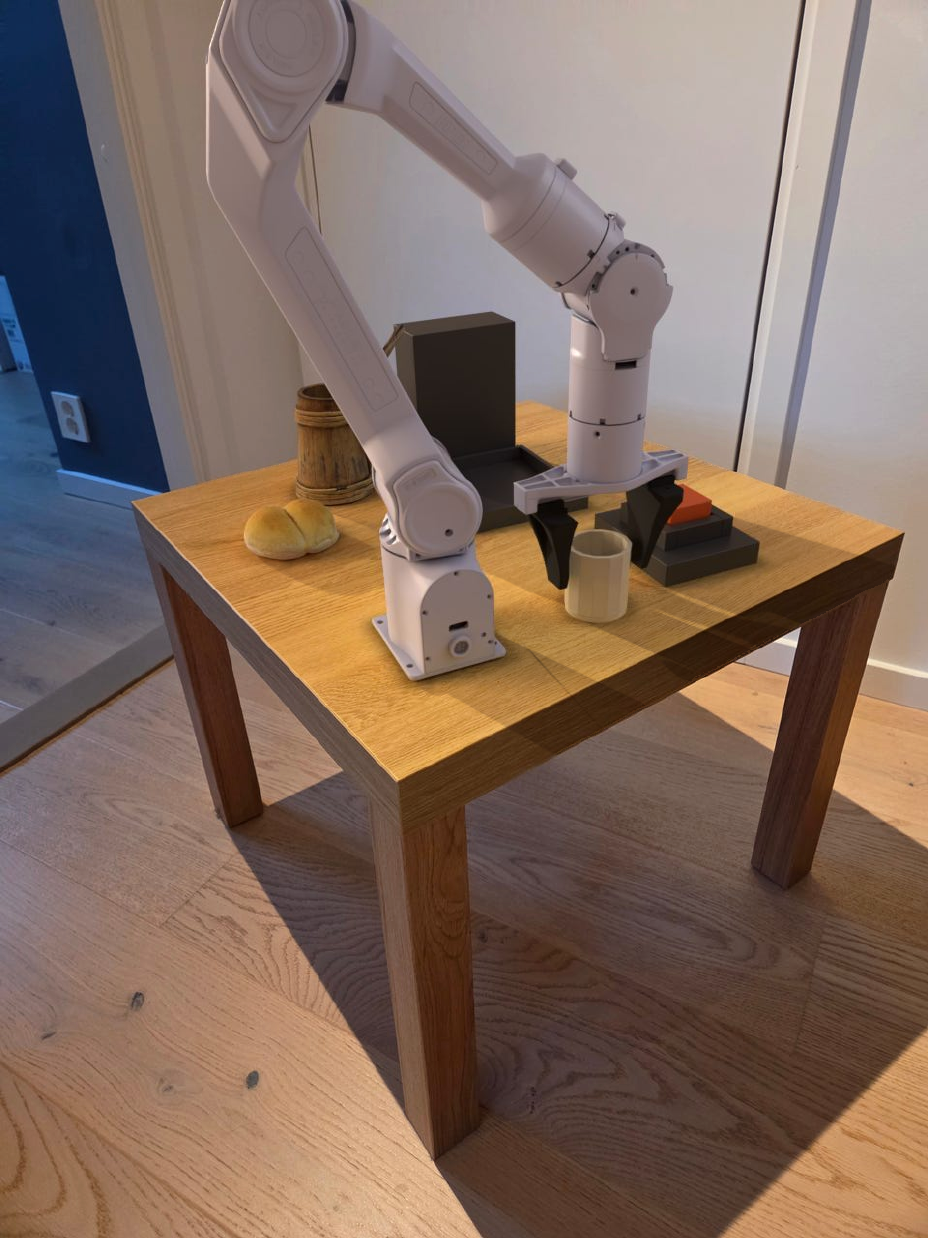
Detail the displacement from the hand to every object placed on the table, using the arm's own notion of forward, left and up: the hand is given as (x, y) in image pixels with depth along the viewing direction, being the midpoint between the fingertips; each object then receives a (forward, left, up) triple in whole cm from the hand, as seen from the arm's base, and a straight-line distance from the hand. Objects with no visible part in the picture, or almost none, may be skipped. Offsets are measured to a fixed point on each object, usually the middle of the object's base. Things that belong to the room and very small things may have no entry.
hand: (598, 573), depth 70 cm
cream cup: (0, 0, -3) cm, 3 cm away
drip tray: (+25, -3, -3) cm, 25 cm away
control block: (+6, -12, -3) cm, 14 cm away
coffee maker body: (+36, -3, -3) cm, 36 cm away
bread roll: (+24, +20, -3) cm, 31 cm away
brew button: (+6, -12, 0) cm, 13 cm away
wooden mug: (+34, +11, -3) cm, 36 cm away
